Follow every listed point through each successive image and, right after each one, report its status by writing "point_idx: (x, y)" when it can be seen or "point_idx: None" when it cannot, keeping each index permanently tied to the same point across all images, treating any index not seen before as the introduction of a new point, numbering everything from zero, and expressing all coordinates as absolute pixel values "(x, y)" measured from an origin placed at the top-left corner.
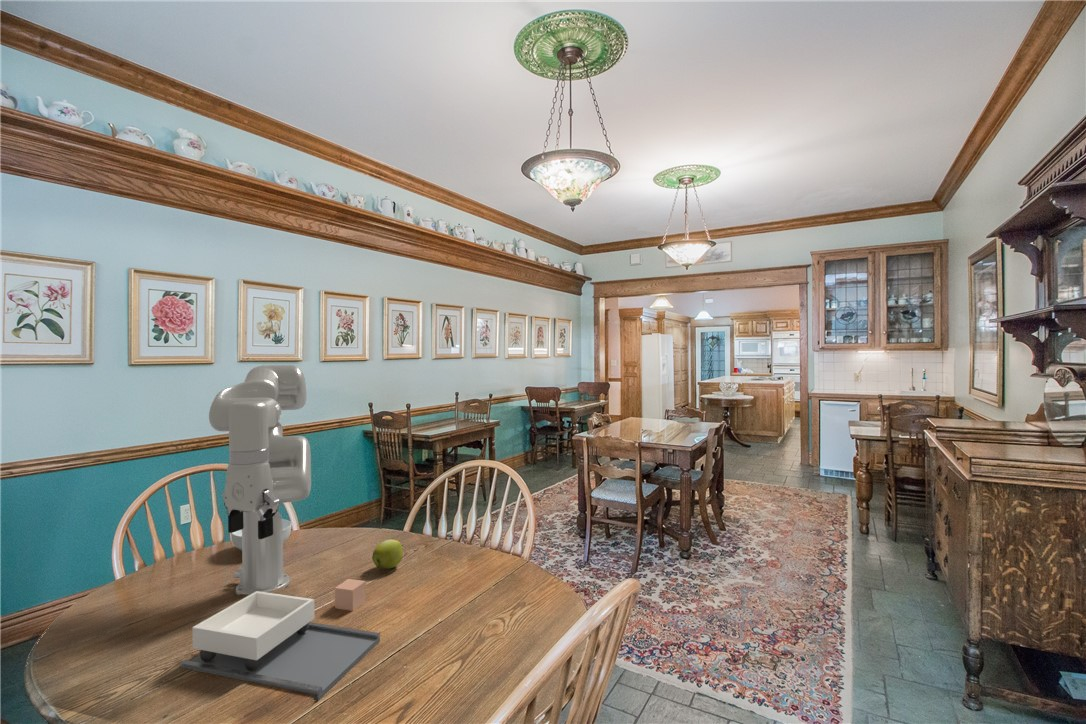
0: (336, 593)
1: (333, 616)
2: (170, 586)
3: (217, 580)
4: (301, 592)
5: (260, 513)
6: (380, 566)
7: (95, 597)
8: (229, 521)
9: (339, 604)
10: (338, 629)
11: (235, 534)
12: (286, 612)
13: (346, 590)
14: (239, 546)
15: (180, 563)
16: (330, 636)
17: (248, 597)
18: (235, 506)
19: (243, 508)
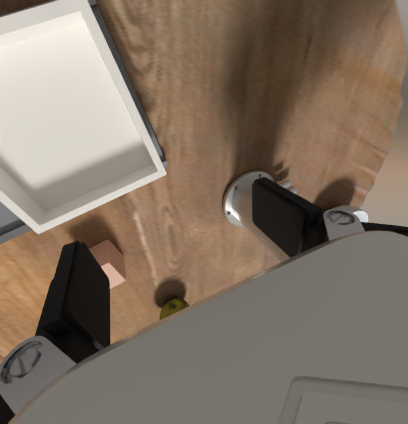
0: (105, 258)
1: (98, 234)
2: (342, 125)
3: (306, 168)
4: (197, 224)
5: (28, 400)
6: (169, 302)
7: (400, 50)
8: (288, 198)
9: (101, 250)
10: (12, 230)
11: (359, 213)
12: (90, 189)
13: None
14: (338, 208)
15: (371, 155)
16: (11, 215)
17: (151, 154)
18: (285, 295)
19: (164, 351)
